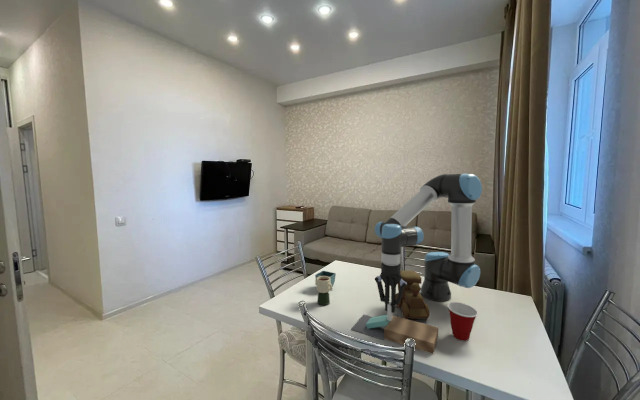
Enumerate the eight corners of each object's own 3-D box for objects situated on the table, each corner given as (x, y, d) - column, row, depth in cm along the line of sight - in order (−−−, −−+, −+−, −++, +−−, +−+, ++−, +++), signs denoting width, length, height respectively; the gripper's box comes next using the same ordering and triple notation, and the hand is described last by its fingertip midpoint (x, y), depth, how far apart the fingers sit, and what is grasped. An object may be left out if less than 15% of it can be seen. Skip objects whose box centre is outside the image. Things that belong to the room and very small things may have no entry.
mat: (393, 323, 117) (393, 322, 117) (383, 340, 105) (383, 339, 105) (363, 315, 125) (363, 314, 125) (350, 329, 113) (350, 329, 113)
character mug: (336, 304, 135) (336, 279, 134) (327, 309, 130) (327, 283, 129) (320, 297, 143) (320, 273, 142) (310, 302, 137) (310, 277, 136)
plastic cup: (475, 348, 100) (477, 317, 99) (443, 339, 106) (444, 309, 105) (478, 334, 109) (479, 306, 108) (448, 326, 115) (449, 299, 114)
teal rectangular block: (391, 318, 113) (389, 314, 114) (387, 325, 108) (385, 320, 109) (372, 322, 118) (370, 317, 118) (367, 328, 113) (365, 324, 113)
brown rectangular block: (438, 337, 107) (438, 327, 107) (433, 354, 97) (433, 343, 97) (393, 324, 116) (393, 315, 116) (384, 338, 106) (384, 329, 106)
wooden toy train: (393, 302, 137) (393, 270, 136) (415, 302, 137) (416, 270, 136) (405, 323, 117) (406, 286, 116) (431, 323, 117) (432, 286, 116)
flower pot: (336, 288, 155) (336, 273, 154) (328, 293, 147) (328, 278, 146) (323, 285, 159) (323, 270, 159) (314, 290, 152) (314, 274, 151)
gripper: (409, 262, 109) (408, 319, 111) (378, 258, 115) (377, 311, 117) (405, 268, 102) (403, 327, 104) (372, 262, 109) (371, 318, 111)
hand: (389, 318), depth 111 cm, fingers closed
